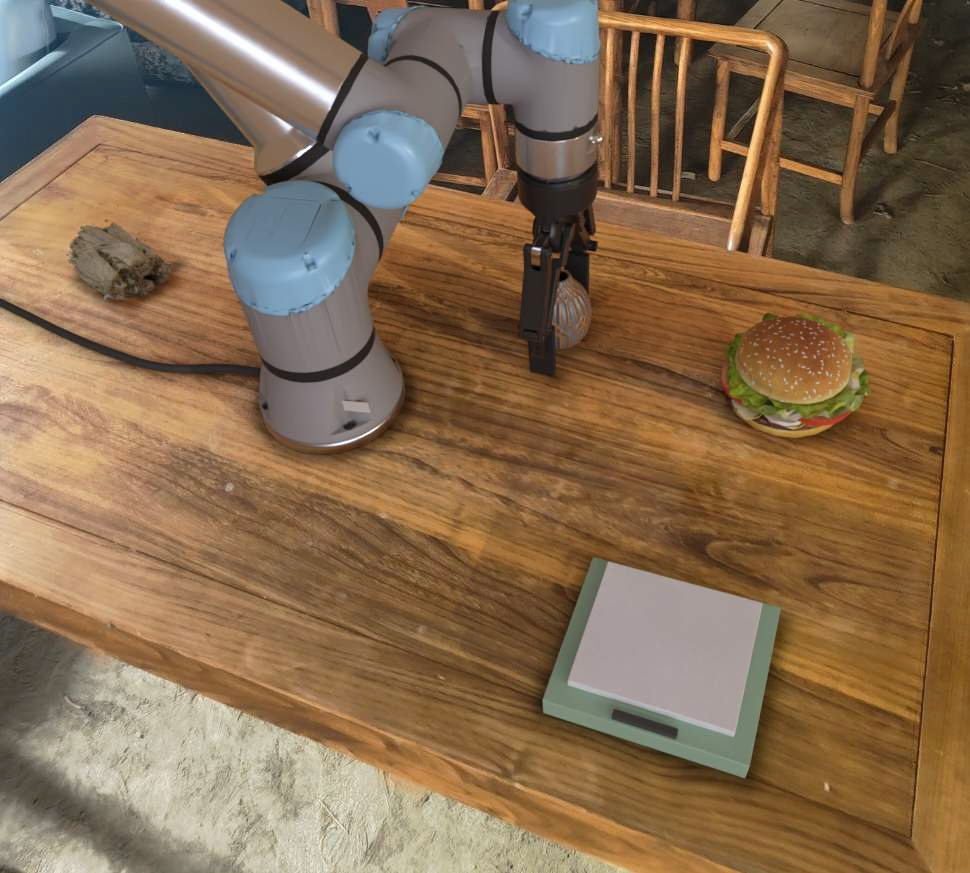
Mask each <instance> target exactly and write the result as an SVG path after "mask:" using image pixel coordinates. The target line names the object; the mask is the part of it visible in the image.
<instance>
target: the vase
mask: <svg viewBox="0 0 970 873" xmlns="http://www.w3.org/2000/svg"><path fill="white" fill-rule="evenodd" d="M592 307H593V306H592V302H591V299H590V295H589V296H588V294H587V292H586V290H585V288H584V287H583V286H582V285H581V284H580V283H579V282H578V281H577V280H575V279H574V278H573V277H572V276H571V274H570V273H569V271H567V270H566V269H564V267H562V268H561V271H560V277H559V283H558V289H557V295H556V301H555V308H554V314H553V320H552V326H554V327H555V349H556V350H566V349H570V348H572V347H574V346H576V345H578V344H579V343H580V342H582V340H583V339H584V338H585V337H586V336H587V333H588V331H589V329H590V326H591V323H592V316H593V308H592Z"/></svg>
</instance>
